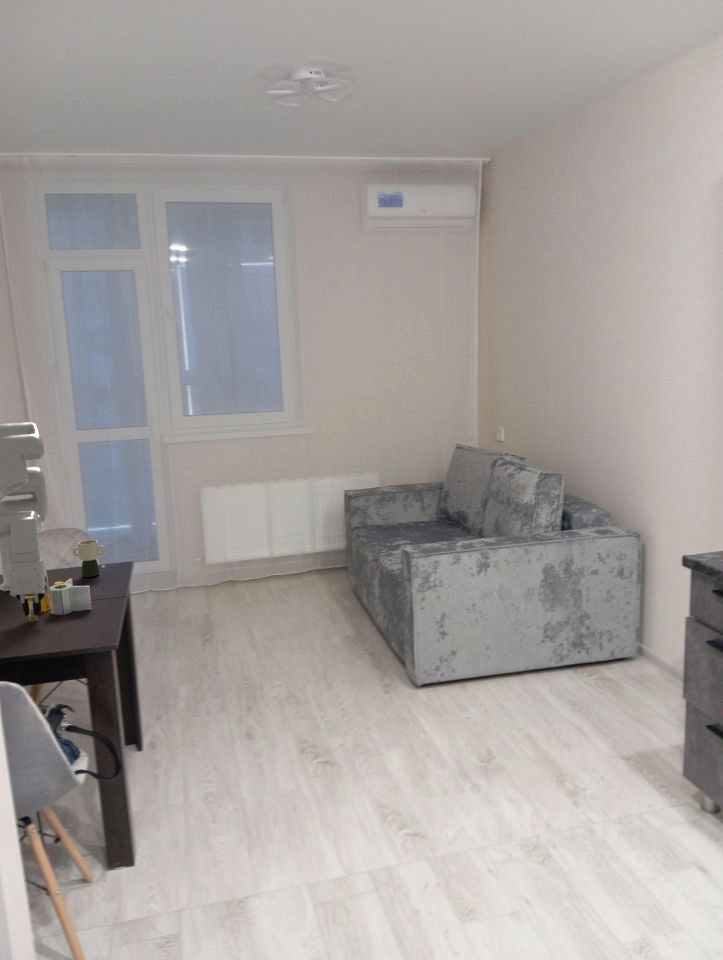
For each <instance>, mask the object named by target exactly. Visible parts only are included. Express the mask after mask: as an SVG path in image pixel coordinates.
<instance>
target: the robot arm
mask: <svg viewBox="0 0 723 960" xmlns="http://www.w3.org/2000/svg"><path fill="white" fill-rule="evenodd" d="M44 455H45V444H44V439H43V436H42V434H41V432H40V429H39V427H38V425H37V423H34V422H32V421H31V422H29V421H25V422H11V423H10V422H9V423H0V560H1V568H2V570H1V571H2V578H3V583H2V582H1V584H0V591H1V590H2V591H1V592H6V591H10V592H9V596H12V597H14V598H16V599H17V600H19V601H20V603H21V604H22V609H23V613H24V616H25V617H27V616H28V617H29V613H28V604H27V599H23V595H25V594H34V595H35V598H34V600H35V601H34V602H35V603H33V608H34V615H35V616H37V617H38V615H39V614H41V613H42V612H41V600H42V599H43V597H44V596H47V595H49V594H50V593H51V592H52V591H51V589H50V585H49V580H48V579H49V578H48V573H47V570H46V566H45V563H44V560H43V558H41V550H40V541H39V533H38V532H39V531H40V528H41V526H42V523H43V522H45V521H47V519H48V515H49V509H48V508H49V507H48V498H47V486H46V479H45V474H44V471H43V470H42V469H41V468H40V467H38V466H27V461H33V460H35V461H36V460H41V459H42V458H43V457H44ZM27 495H31V496H27ZM15 496H26V497H17V498H6V499H4V498H5V497H15ZM43 591H45V592H43ZM42 592H43V593H42ZM38 594H39V595H38Z"/></svg>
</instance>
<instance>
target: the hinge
mask: <svg viewBox="0 0 723 960" xmlns="http://www.w3.org/2000/svg"><path fill="white" fill-rule="evenodd" d="M73 585H74V584H73V578H68V579H67V580H66V581H64V584H58V585H54V584H53V585H52V586H49V588H50V589H51V591H52V592H51V593H50V594H49V600H50V610H49V611H50V614H52V615H54V614H55V615H54V616H59V615H60V616H62V615H67V614H71V613H73V612H83V611H82V610H91V609H92V601H91V599H92V598H91V590H90V589H91V588H90V585H74V586H73ZM72 611H73V612H72ZM91 611H92V610H91ZM70 612H71V613H70Z"/></svg>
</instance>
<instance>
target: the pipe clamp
mask: <svg viewBox="0 0 723 960" xmlns="http://www.w3.org/2000/svg"><path fill="white" fill-rule="evenodd" d="M64 583H65V581H56V582H54V583H53V585H58V584H64ZM43 592H45V590H44V591H43ZM43 592H42V593H43ZM49 609H50V600H49V595H47V596H44V597H43V599H42V600H41V612H40V613H47V612H48V611H50V610H49ZM47 610H48V611H47ZM43 611H44V612H43ZM46 611H47V612H46Z"/></svg>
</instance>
